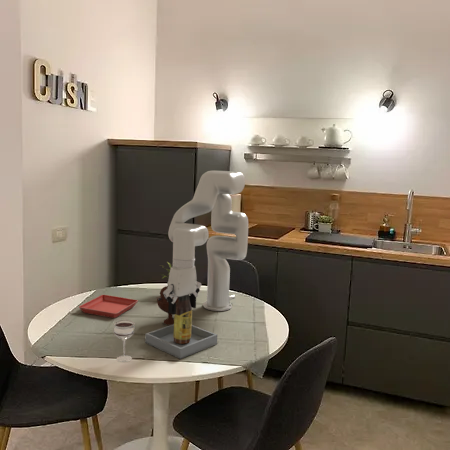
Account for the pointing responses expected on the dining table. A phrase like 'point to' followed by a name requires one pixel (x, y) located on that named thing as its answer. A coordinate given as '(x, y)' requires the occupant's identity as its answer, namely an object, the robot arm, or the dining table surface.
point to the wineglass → (124, 335)
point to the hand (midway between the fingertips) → (182, 310)
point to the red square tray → (108, 306)
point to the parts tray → (166, 343)
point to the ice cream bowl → (165, 306)
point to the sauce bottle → (183, 320)
